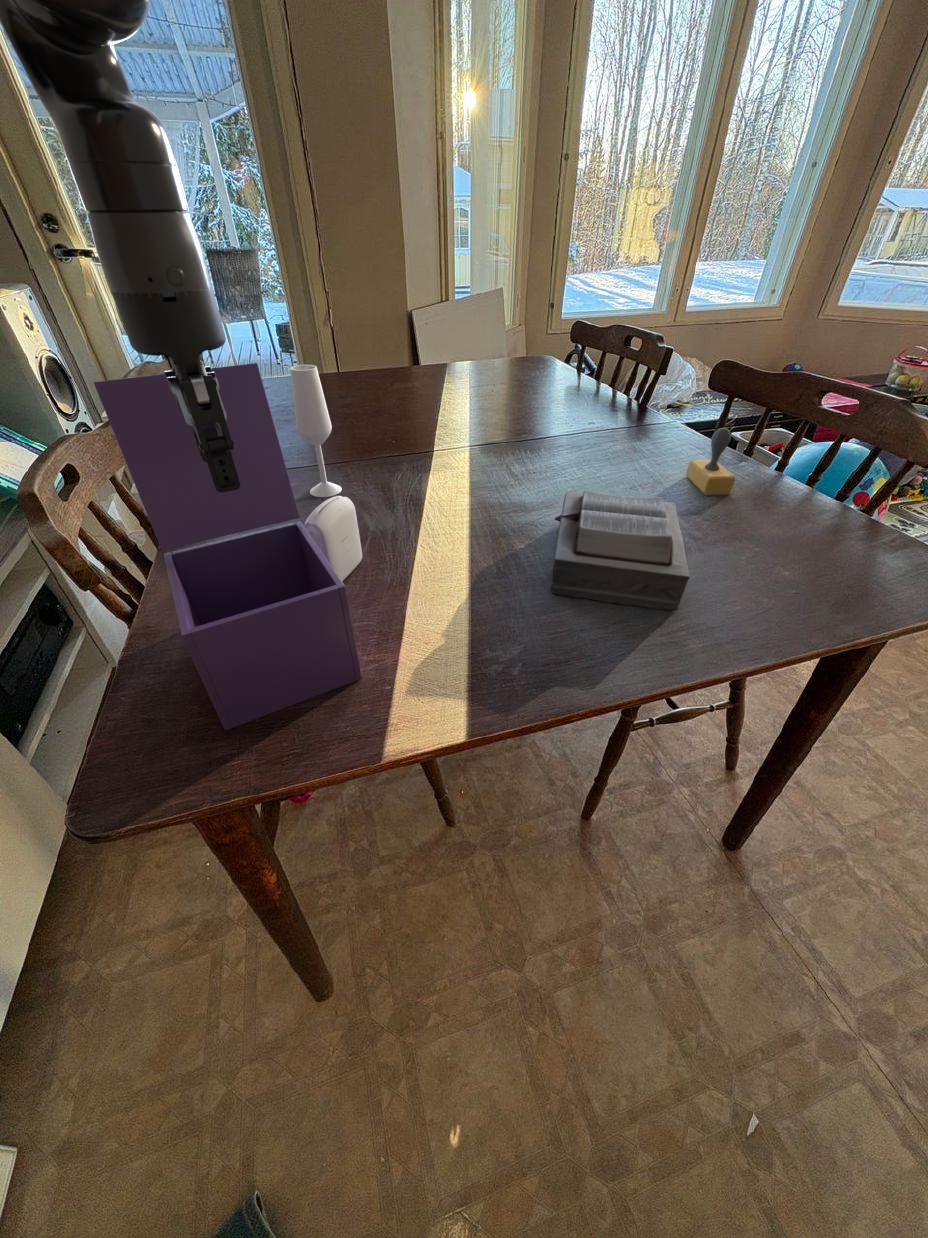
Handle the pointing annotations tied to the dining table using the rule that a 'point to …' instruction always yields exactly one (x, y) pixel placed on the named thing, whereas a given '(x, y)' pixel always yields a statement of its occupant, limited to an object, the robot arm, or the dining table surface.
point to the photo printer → (336, 534)
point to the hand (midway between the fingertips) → (221, 474)
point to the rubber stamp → (713, 468)
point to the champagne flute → (312, 419)
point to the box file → (263, 621)
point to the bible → (620, 550)
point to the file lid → (199, 458)
